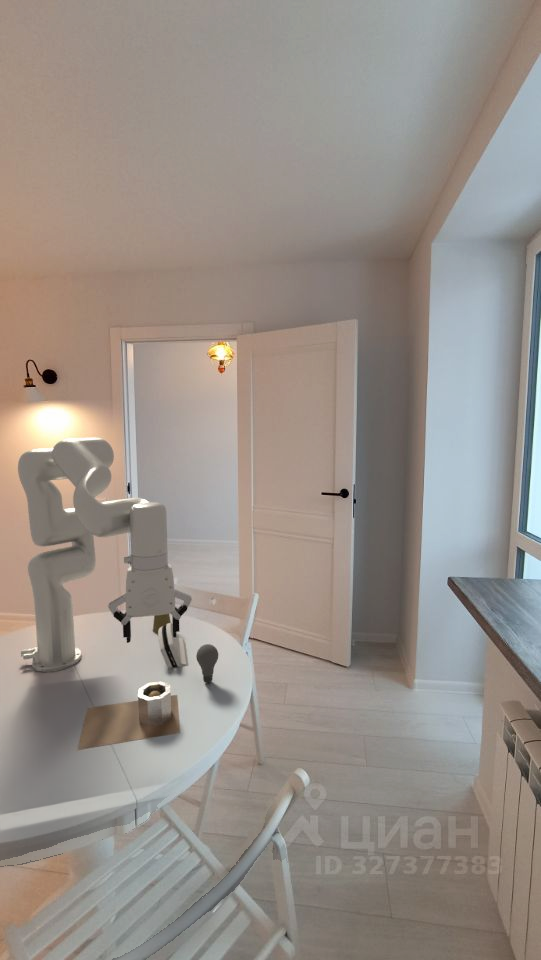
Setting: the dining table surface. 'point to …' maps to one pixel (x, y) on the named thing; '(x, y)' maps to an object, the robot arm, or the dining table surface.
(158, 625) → the cork
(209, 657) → the light bulb
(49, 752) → the dining table surface
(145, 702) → the white hollow octagonal cylinder
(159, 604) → the robot arm
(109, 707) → the keeper base
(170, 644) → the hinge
